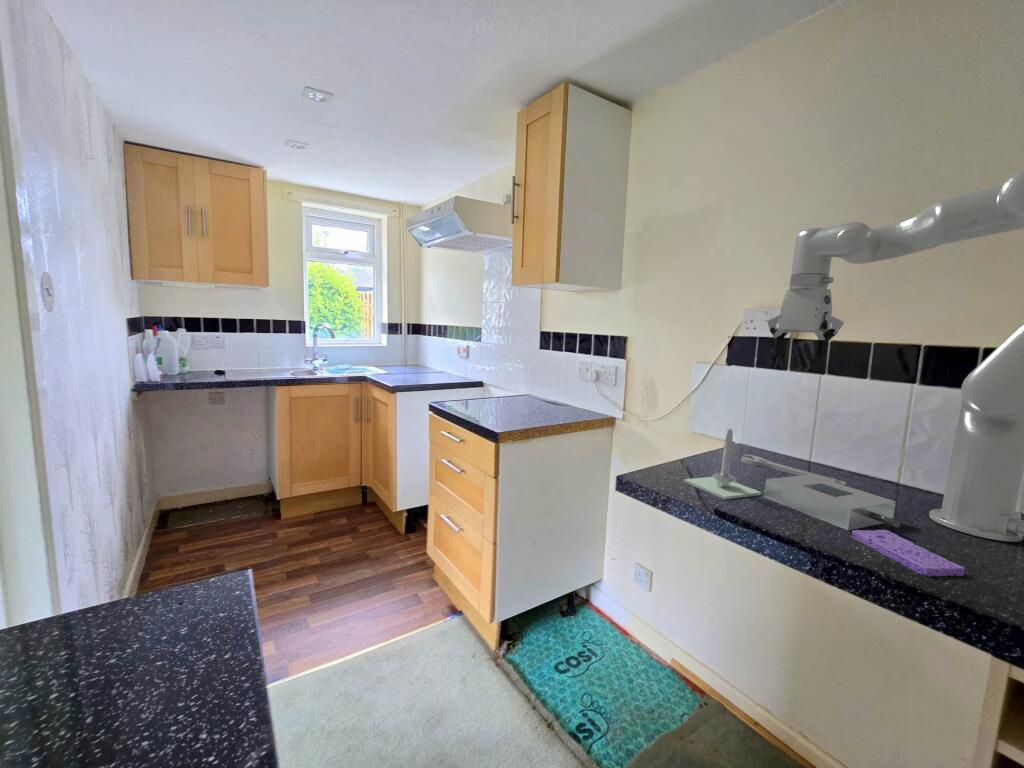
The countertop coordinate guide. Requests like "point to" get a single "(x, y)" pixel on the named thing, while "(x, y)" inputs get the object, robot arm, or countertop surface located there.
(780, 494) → the steel block
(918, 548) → the sponges
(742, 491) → the rubber mat
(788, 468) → the adjustable wrench
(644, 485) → the countertop surface
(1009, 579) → the countertop surface
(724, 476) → the screw
